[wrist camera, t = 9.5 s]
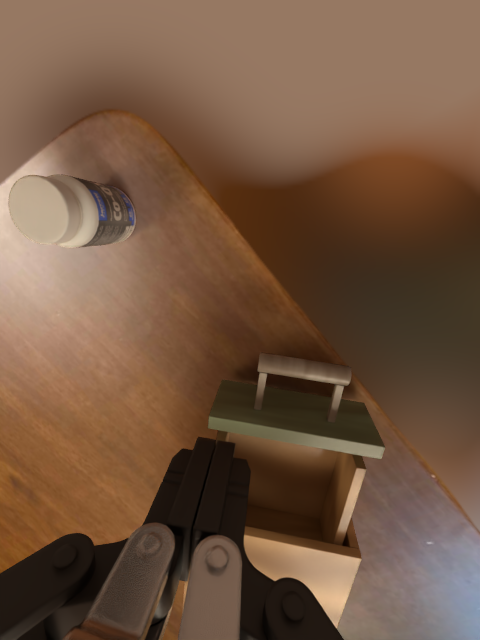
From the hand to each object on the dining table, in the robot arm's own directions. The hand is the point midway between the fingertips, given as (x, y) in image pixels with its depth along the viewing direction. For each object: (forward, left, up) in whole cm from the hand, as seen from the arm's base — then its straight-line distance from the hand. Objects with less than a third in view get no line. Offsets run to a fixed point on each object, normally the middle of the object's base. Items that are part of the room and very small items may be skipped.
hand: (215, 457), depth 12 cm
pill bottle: (-8, -13, -17) cm, 23 cm away
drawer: (+10, +5, -16) cm, 19 cm away
